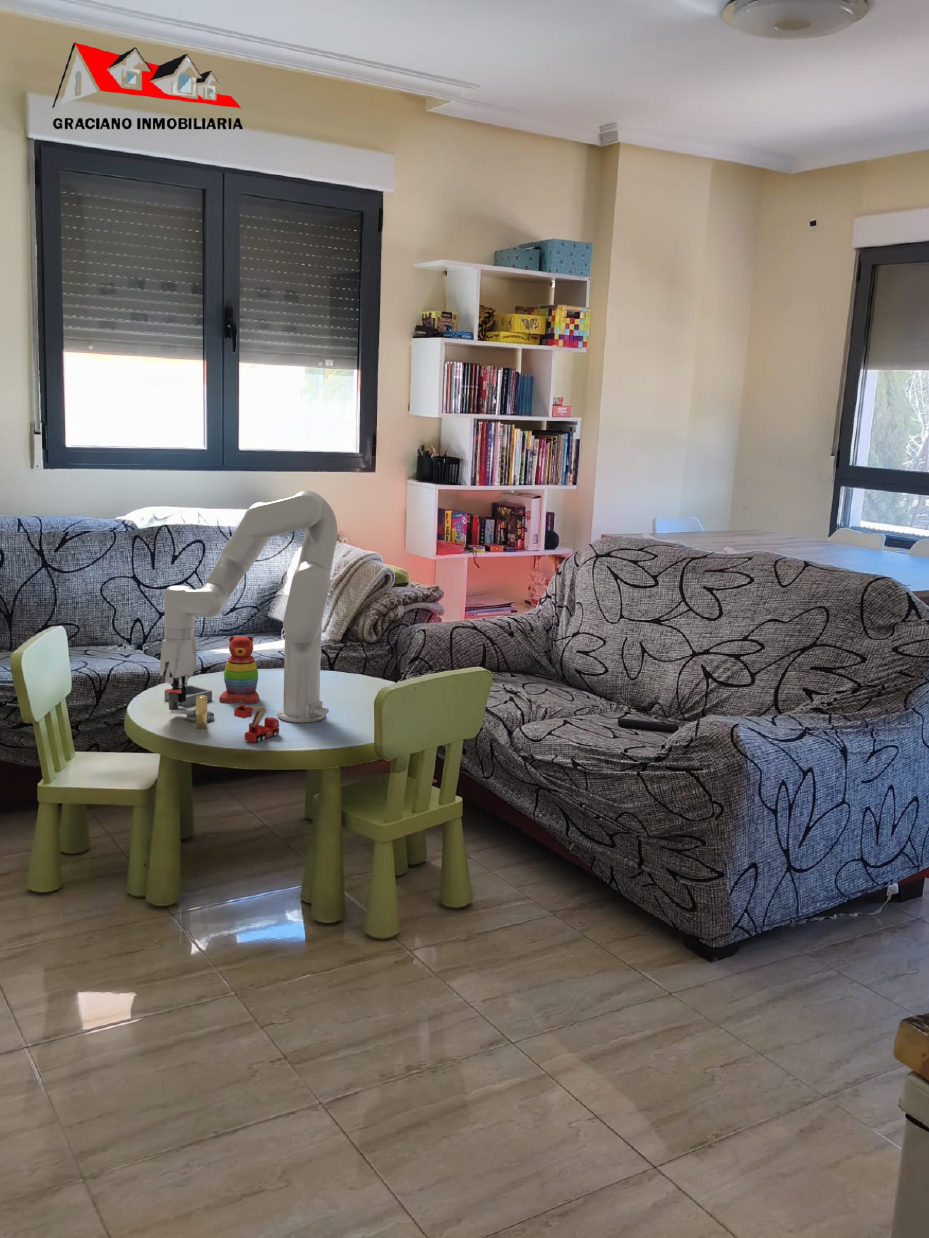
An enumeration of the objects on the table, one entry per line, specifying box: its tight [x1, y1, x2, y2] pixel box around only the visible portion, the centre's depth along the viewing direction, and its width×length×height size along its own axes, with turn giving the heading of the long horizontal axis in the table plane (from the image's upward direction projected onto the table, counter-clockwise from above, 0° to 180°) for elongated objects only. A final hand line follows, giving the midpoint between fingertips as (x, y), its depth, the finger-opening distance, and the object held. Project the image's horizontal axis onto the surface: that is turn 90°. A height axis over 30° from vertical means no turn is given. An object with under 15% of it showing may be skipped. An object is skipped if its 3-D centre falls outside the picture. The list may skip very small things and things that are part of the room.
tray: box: [164, 684, 213, 707], centre depth 301 cm, size 9×9×3 cm
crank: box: [164, 688, 196, 715], centre depth 284 cm, size 11×4×6 cm, turn 89°
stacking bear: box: [218, 635, 260, 705], centre depth 304 cm, size 11×10×18 cm
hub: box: [185, 710, 215, 724], centre depth 284 cm, size 7×7×1 cm
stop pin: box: [195, 695, 208, 730], centre depth 277 cm, size 3×3×8 cm
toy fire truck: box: [233, 704, 280, 743], centre depth 269 cm, size 3×14×10 cm, turn 149°
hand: (179, 701), depth 287 cm, fingers closed
